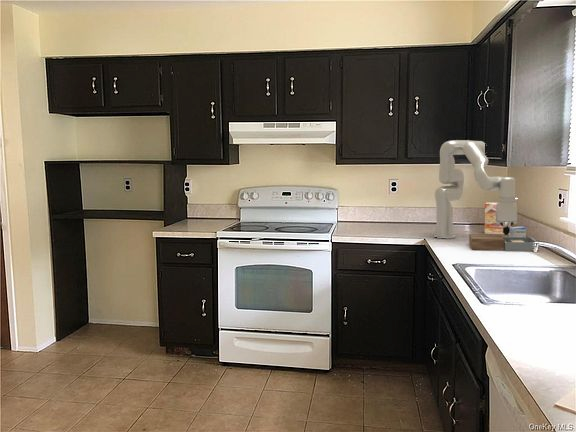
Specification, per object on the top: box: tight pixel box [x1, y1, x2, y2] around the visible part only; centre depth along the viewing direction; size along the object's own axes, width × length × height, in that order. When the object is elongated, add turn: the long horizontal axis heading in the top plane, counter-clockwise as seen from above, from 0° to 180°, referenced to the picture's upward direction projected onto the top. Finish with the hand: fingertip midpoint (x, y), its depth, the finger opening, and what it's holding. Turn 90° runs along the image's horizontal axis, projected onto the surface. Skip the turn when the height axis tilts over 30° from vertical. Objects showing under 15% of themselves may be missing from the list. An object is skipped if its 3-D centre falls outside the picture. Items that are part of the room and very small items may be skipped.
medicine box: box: [508, 226, 527, 237], centre depth 281 cm, size 8×4×9 cm, turn 105°
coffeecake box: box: [484, 202, 509, 236], centre depth 312 cm, size 15×7×20 cm, turn 62°
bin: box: [502, 236, 540, 253], centre depth 264 cm, size 18×16×4 cm
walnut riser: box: [468, 233, 505, 252], centre depth 268 cm, size 16×16×6 cm
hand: (506, 234), depth 265 cm, fingers closed
